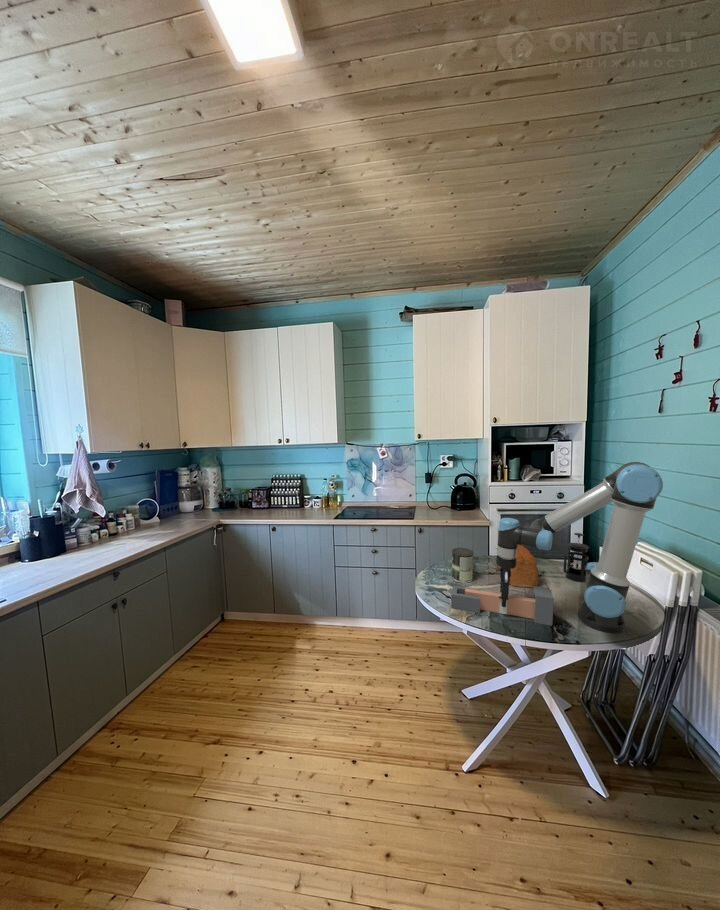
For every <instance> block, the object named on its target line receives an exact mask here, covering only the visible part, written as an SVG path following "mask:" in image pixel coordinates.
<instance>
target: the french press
mask: <svg viewBox="0 0 720 910" xmlns="http://www.w3.org/2000/svg"><path fill="white" fill-rule="evenodd" d="M573 535H575V536H577V539H578V540H577V542H569V543H567V546H568V550H570V551H569V552H567V554H564V557H563V568H562V569H563V573H565V577H566V578H567V579H568V580H570V581H573V582H576V583H577V582H578V583H586V567H587V564H588V561H589V556H588V555H587V554H585V553H588V551H589V549H590V547H589V545H587V544H584V543H580V538H581V537H583V536H585V534H584V533H580V532H574V533H573ZM575 555H577V557H575ZM579 556H581V557H584V558H581V557H579ZM575 561H576V562H575ZM579 562H580V563H579Z"/></svg>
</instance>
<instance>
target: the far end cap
mask: <svg viewBox="0 0 720 910" xmlns="http://www.w3.org/2000/svg"><path fill="white" fill-rule="evenodd" d="M465 588H467V589H474V590H480V591H482V590H481V589H479V588H472V587H467V586H466V587H465V586H460V585H453V586H452V589H451V596H450V598H451V600H450V609H453V610H458V611H465V612H471V613H476V614H480V613H481V610H480V597H477V596H471V595H465Z"/></svg>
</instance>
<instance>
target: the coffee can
mask: <svg viewBox="0 0 720 910" xmlns="http://www.w3.org/2000/svg"><path fill="white" fill-rule="evenodd" d="M451 554H452V556H451V579H452V580H453V581H454V582H457V583H461V584H468V583H471V582H472V581H473V579H474V578H473V567H474V565H473V564H474V551H473V550H471V549H469V548H466V547H455V548H453V549H452V550H451Z"/></svg>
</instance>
